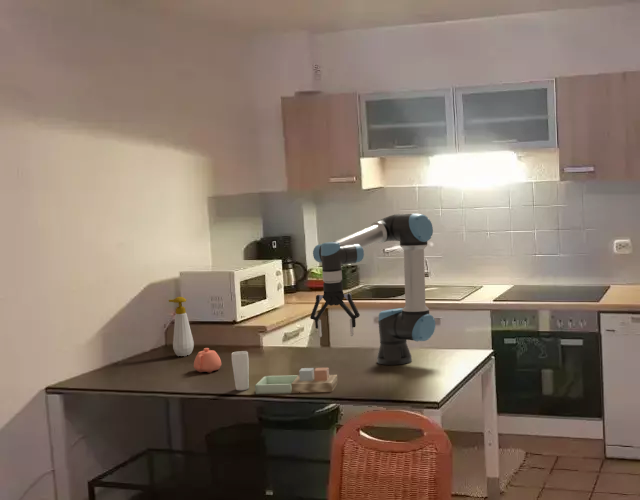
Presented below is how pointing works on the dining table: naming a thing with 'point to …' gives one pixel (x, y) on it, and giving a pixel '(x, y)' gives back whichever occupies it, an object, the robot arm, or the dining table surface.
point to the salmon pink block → (321, 374)
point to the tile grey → (306, 374)
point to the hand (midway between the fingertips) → (336, 336)
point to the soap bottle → (182, 330)
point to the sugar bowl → (207, 361)
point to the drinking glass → (241, 369)
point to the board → (314, 385)
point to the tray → (275, 384)
